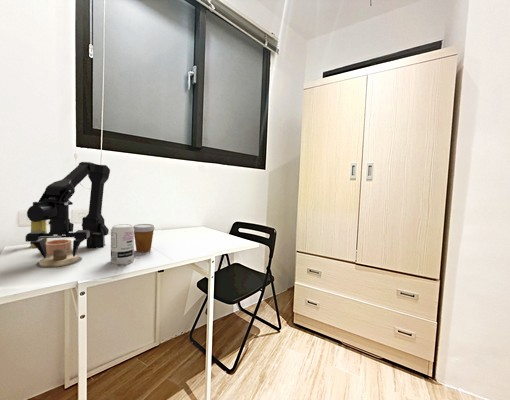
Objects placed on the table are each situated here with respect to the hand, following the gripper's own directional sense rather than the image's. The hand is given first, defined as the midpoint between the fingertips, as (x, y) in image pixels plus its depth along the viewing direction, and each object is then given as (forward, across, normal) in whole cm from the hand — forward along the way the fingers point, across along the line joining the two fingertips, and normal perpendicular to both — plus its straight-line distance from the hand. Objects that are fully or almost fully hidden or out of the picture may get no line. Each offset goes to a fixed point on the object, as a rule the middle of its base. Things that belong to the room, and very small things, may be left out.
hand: (60, 257), depth 94 cm
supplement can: (+3, -22, +4) cm, 23 cm away
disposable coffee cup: (+3, -29, -11) cm, 31 cm away
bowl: (+2, +5, -14) cm, 15 cm away
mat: (+2, 0, 0) cm, 2 cm away
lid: (+2, 0, 0) cm, 2 cm away
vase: (+2, +16, -26) cm, 31 cm away
